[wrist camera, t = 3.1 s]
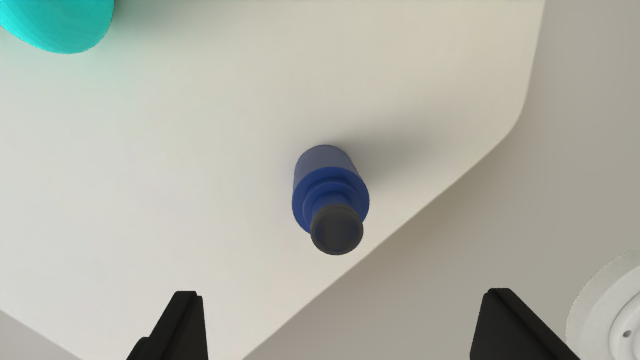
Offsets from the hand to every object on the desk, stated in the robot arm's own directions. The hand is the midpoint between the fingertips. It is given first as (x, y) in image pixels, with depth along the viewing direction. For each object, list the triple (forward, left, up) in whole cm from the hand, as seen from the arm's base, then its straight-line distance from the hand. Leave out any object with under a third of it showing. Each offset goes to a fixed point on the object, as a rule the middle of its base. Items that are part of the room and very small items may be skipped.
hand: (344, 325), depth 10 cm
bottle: (-1, 0, -18) cm, 18 cm away
